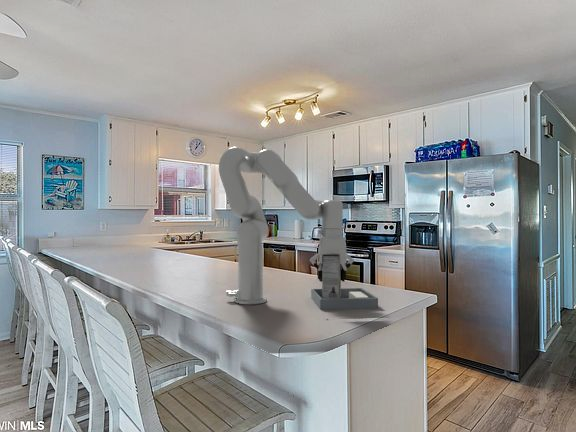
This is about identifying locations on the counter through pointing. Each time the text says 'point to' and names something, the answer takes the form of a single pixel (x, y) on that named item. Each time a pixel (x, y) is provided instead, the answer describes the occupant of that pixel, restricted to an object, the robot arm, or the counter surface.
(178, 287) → the counter surface
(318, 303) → the tote
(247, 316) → the counter surface
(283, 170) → the robot arm
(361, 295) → the cream rectangular block
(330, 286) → the coffee box
